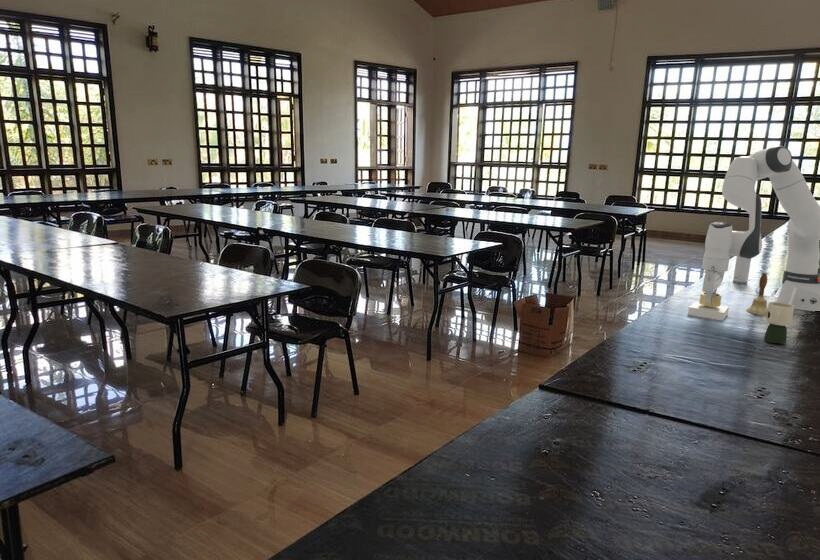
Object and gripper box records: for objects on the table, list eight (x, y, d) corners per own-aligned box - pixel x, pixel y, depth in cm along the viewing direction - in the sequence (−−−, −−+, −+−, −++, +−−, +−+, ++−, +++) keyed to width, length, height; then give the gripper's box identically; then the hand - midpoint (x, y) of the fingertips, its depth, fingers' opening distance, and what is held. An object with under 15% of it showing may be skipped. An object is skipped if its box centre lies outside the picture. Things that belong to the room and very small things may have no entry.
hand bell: (773, 315, 225) (780, 275, 221) (750, 314, 226) (757, 274, 223) (765, 310, 233) (772, 271, 229) (743, 308, 234) (749, 270, 231)
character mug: (764, 336, 196) (771, 299, 193) (789, 341, 191) (796, 303, 189) (759, 344, 188) (765, 305, 185) (784, 349, 183) (792, 309, 180)
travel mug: (734, 283, 285) (740, 243, 281) (731, 281, 291) (737, 241, 287) (748, 284, 284) (755, 244, 279) (745, 282, 290) (751, 242, 286)
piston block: (727, 314, 224) (730, 294, 223) (722, 320, 215) (725, 299, 213) (694, 308, 231) (696, 289, 230) (687, 314, 222) (690, 294, 220)
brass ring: (721, 304, 223) (722, 294, 222) (718, 307, 217) (719, 297, 217) (701, 301, 227) (702, 291, 226) (697, 304, 221) (699, 294, 221)
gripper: (719, 270, 209) (714, 306, 212) (728, 262, 225) (723, 297, 228) (700, 267, 213) (695, 304, 215) (710, 260, 229) (705, 294, 232)
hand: (710, 300), depth 222 cm, fingers closed on brass ring, 7 cm apart
